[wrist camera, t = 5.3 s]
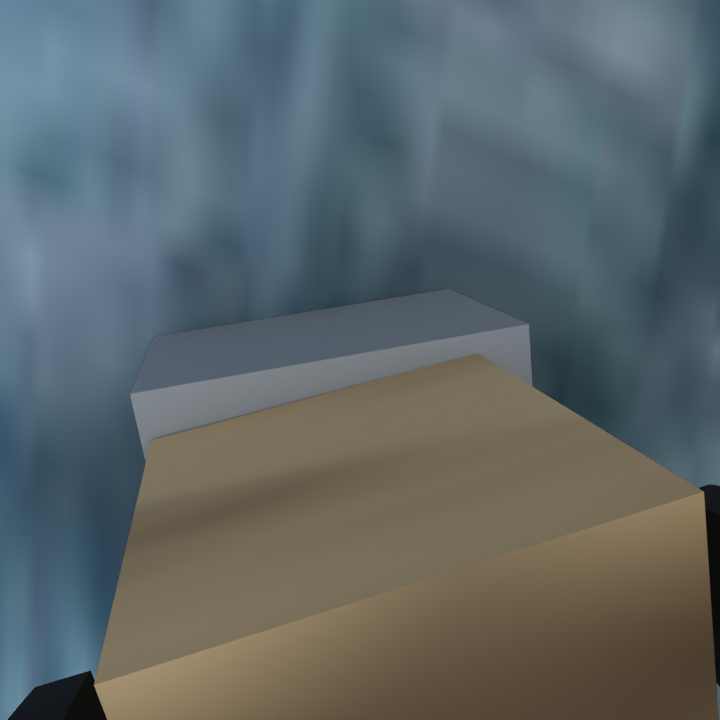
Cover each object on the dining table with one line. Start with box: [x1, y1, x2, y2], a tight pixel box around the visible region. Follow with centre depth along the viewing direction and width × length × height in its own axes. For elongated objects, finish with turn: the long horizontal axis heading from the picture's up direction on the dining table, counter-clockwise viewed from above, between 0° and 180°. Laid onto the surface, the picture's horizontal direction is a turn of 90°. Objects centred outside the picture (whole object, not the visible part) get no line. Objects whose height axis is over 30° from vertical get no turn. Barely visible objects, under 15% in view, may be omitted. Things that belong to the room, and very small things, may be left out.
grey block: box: [130, 289, 533, 462], centre depth 13 cm, size 6×6×4 cm
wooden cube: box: [94, 353, 719, 720], centre depth 8 cm, size 5×5×5 cm
